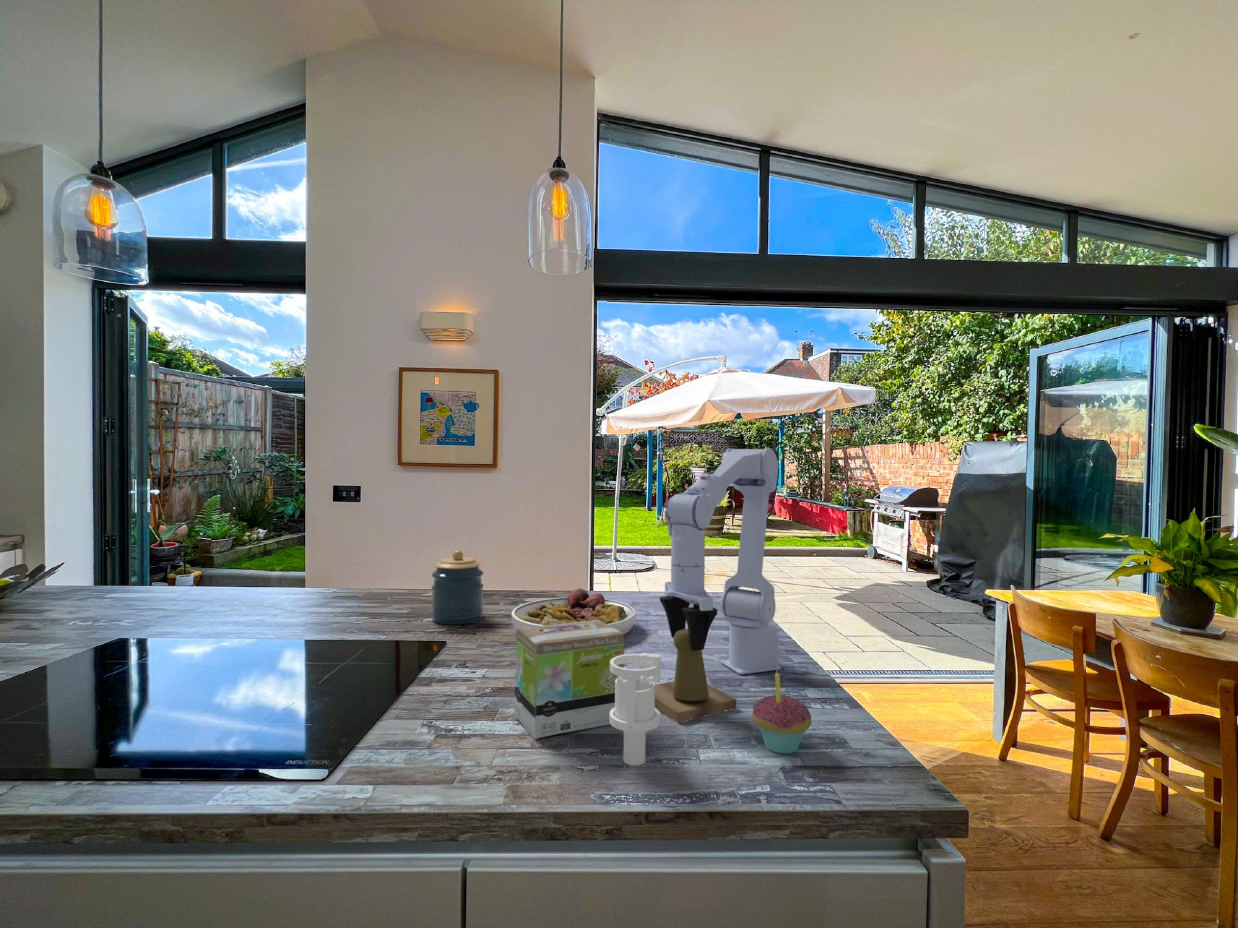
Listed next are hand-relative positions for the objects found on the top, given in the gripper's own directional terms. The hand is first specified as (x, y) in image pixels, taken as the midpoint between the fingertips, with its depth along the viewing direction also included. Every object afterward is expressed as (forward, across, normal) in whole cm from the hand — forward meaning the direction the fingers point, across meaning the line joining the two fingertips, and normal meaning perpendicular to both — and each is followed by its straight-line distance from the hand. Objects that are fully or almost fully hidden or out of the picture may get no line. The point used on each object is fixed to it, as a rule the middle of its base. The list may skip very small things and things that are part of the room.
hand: (687, 643), depth 110 cm
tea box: (+11, 0, -21) cm, 24 cm away
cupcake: (+11, +19, +6) cm, 23 cm away
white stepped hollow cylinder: (+11, +16, -16) cm, 25 cm away
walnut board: (+11, 0, 0) cm, 11 cm away
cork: (+9, +2, 0) cm, 9 cm away
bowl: (+11, -50, -5) cm, 52 cm away
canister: (+11, -70, -31) cm, 77 cm away
